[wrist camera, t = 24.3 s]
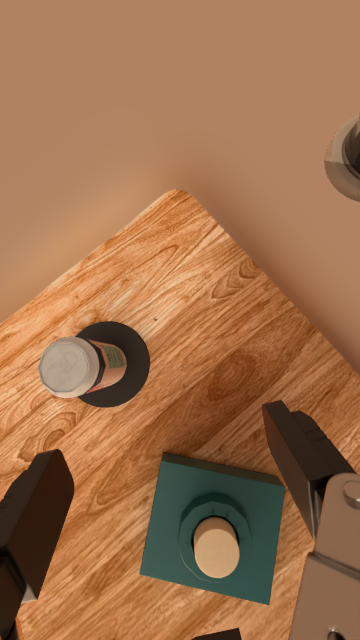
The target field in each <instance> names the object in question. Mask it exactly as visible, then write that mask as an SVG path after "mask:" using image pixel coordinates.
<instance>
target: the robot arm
mask: <svg viewBox="0 0 360 640" xmlns="http://www.w3.org/2000/svg"><path fill="white" fill-rule="evenodd" d="M342 158H343V161H344V164H345V166H346V167H347V169H348V170H349V172H350V173H351V174H352V175H353V176H355V177H356V178H357V179H359V180H360V114H359V120H358V121H357V122H356V123H355V125H354V126H353V127H352V129H351V130H350V131H349V132H348V134H347V135H346V137H345V139H344V141H343V144H342ZM262 413H263V419H264V425H265V432H266V438H267V442H268V445H269V448H270V451H271V454H272V456H273V458H274V460H275V462H276V464H277V466H278V468H279V470H280V472H281V474H282V476H283V478H284V480H285V482H286V484H287V486H288V488H289V490H290V493H291V495H292V497H293V499H294V501H295V503H296V505H297V507H298V509H299V511H300V513H301V515H302V517H303V519H304V521H305V523H306V525H307V527H308V529H309V531H310V533H311V535H312V538H313V540H314V542H315V546H314V550H313V552H309V553H308V555H307V557H306V561H305V565H304V569H303V574H302V578H301V583H300V588H299V592H298V597H297V601H296V606H295V611H294V615H293V620H292V624H291V629H290V634H289V638H288V640H360V475H359V474H357V473H356V472H355V471H354V470H353V468H352V467H351V466H350V465H349V463H348V462H347V461H346V460H345V458H344V457H343V456H342V455H341V453H340V452H339V451H338V450H337V448H336V447H335V446H334V445H333V443H332V442H331V441H330V440H329V439H328V438H327V436H326V435H325V434H324V432H323V431H322V430H320V427H319V426H318V425H317V424H316V422H315V421H314V420H313V419H312V418H311V417H310V416H308V415H306V414H305V413H303V412H301V411H300V410H299V411H294V412H290V411H289V410H288V408H287V407H286V405H285V404H284V402H283V401H282V400H279V401H274V402H270V403H265V404H262ZM73 495H74V481H73V478H72V475H71V473H70V471H69V468H68V466H67V463H66V461H65V459H64V456H63V454H62V452H61V451H60V450H59V449H55V450H51V451H46V452H42V453H38V454H37V455H36V456H35V458H34V459H33V461H32V463H31V464H30V466H29V468H28V470H24V471H23V472H22V474H21V475H20V476H19V477H18V478H17V479H16V480H15V481H14V482H13V483H12V484H11V486H10V487H9V489H8V491H7V492H6V494H5V496H4V499H2V500H1V502H0V640H24V638H23V633H22V629H21V624H20V621H19V618H18V617H17V613H18V610H19V608H20V605H21V603H25V602H30V601H34V600H37V599H38V597H39V594H40V591H41V588H42V585H43V582H44V579H45V576H46V574H47V571H48V568H49V565H50V562H51V559H52V556H53V553H54V551H55V548H56V545H57V542H58V539H59V536H60V533H61V530H62V528H63V525H64V522H65V519H66V516H67V513H68V510H69V507H70V505H71V502H72V499H73ZM192 640H242V639H241V635H240V631H239V628H236V629H231V630H226V631H221V632H217V633H212V634H207V635H202V636H198V637H195V638H193V639H192Z"/></svg>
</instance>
